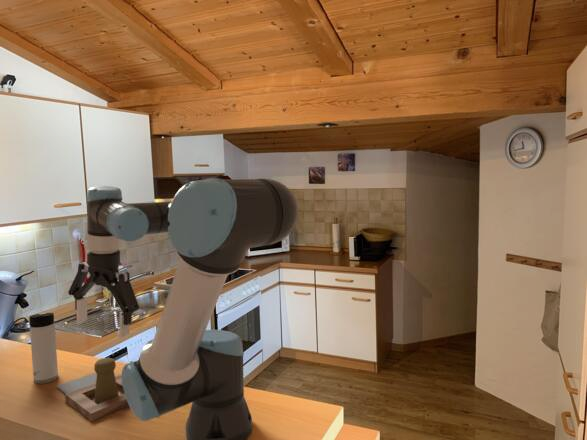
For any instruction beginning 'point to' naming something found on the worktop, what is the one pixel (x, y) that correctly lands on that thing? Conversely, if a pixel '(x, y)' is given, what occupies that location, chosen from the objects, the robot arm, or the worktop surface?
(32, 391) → the worktop surface
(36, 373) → the travel mug
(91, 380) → the grey mat
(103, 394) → the cork
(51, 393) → the worktop surface
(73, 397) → the walnut holder
